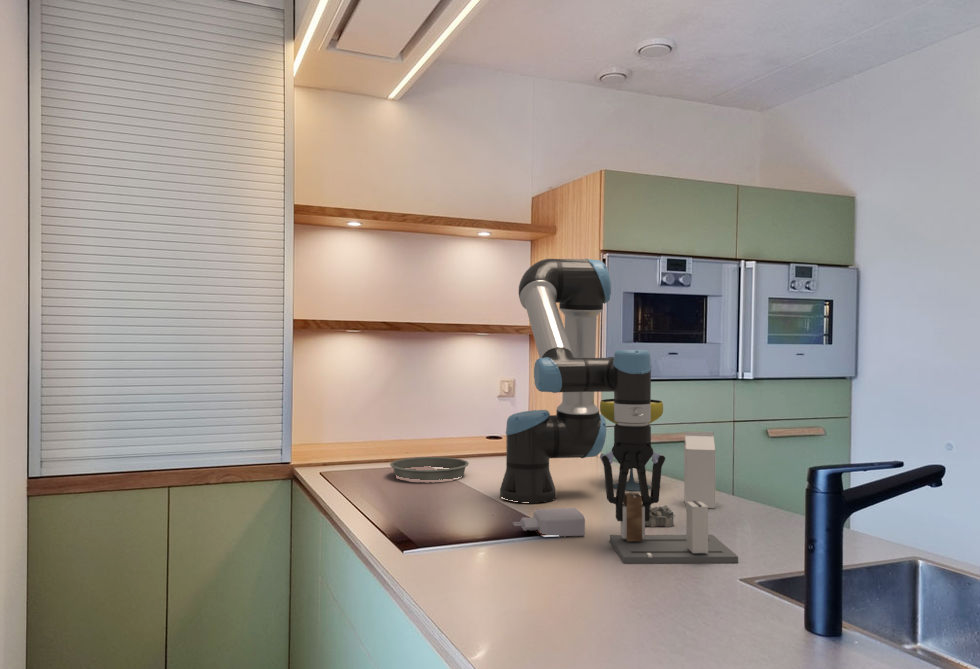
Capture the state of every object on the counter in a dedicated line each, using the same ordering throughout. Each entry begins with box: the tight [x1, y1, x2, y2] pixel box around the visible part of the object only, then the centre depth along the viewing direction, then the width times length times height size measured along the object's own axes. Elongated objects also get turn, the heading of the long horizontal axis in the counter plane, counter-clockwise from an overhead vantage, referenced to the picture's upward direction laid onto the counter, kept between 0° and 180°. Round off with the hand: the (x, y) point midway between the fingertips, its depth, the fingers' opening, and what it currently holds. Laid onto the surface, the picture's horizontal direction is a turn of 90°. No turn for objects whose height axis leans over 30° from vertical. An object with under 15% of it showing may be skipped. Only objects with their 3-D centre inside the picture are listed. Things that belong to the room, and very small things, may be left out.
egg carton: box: [645, 504, 676, 528], centre depth 163 cm, size 11×8×4 cm
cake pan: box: [389, 456, 469, 480], centre depth 219 cm, size 25×25×4 cm
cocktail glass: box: [599, 398, 664, 492], centre depth 202 cm, size 18×18×25 cm
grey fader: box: [685, 500, 709, 553], centre depth 137 cm, size 3×4×9 cm
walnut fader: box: [623, 491, 642, 541], centre depth 145 cm, size 3×4×9 cm
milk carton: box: [683, 430, 716, 509], centre depth 180 cm, size 7×7×19 cm
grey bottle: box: [512, 507, 586, 538], centre depth 155 cm, size 5×9×15 cm
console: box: [609, 534, 739, 564], centre depth 141 cm, size 22×15×2 cm
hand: (632, 536), depth 145 cm, fingers closed on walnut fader, 3 cm apart
